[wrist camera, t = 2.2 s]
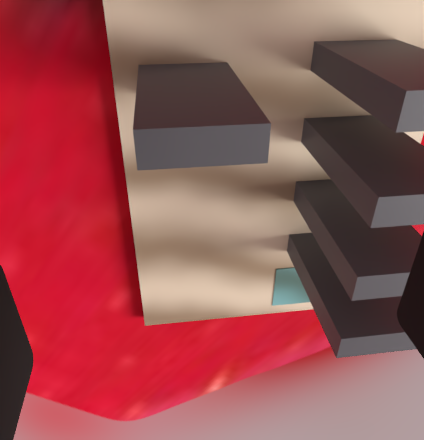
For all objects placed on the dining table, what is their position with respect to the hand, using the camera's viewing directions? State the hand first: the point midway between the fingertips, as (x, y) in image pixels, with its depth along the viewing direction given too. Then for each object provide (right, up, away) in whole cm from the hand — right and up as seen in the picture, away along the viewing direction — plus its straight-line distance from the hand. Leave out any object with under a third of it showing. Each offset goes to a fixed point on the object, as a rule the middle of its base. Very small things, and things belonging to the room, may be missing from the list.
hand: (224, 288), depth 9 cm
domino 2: (+8, +11, +15) cm, 20 cm away
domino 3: (+8, +7, +17) cm, 20 cm away
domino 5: (+8, 0, +22) cm, 23 cm away
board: (+4, +5, +19) cm, 20 cm away
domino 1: (-2, +10, +14) cm, 17 cm away
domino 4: (+8, +4, +20) cm, 22 cm away
